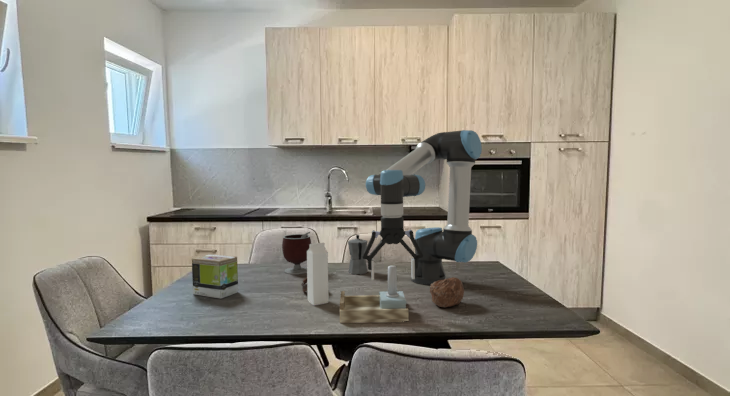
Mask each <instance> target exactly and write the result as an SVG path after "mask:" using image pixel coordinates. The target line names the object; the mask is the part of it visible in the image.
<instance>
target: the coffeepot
mask: <svg viewBox="0 0 730 396" xmlns="http://www.w3.org/2000/svg"><path fill="white" fill-rule="evenodd" d="M355 237H356V238H354V239H350V240H348V241H347V244H348V250H349V255H350V259H349V264H348V265H349V266H348V273H349V274H350V273H351V274H350V275H355V274H360V275H365V274H367V273H368V264H367V260H366V259H363V253H364V251H365V249H366V247H367V245H368V240H366V239H362V238H360V235H359V234H356V235H355Z"/></svg>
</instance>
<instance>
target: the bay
mask: <svg viewBox="0 0 730 396" xmlns="http://www.w3.org/2000/svg"><path fill="white" fill-rule="evenodd" d="M345 292H346V291H345V290H342V291H340V298H339V324H344V323H345V324H350V323H351V324H353V323H354V324H355V323H356V324H357V323H360V324H361V323H363V324H364V323H367V324H368V323H405V322H404V321H410V320H409V317H410V315H409V308H408V307H406V308H400V309H380V295H379V294H369V295H366V294H365V295H346V293H345ZM402 321H403V322H402Z"/></svg>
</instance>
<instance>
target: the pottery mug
mask: <svg viewBox="0 0 730 396" xmlns="http://www.w3.org/2000/svg"><path fill="white" fill-rule="evenodd" d="M301 287H302V290H301V291H302V292H303V293H305V292H308V291H307V277H305V278H304V279H303V280H302V283H301Z"/></svg>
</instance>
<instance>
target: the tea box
mask: <svg viewBox="0 0 730 396" xmlns="http://www.w3.org/2000/svg"><path fill="white" fill-rule="evenodd" d="M191 271H192V272H191V274H192V294H193V295H196V296H203V297H208V298H215V299H224V298H227V297H229V296H232V295H234V294H237V293H238V292H239V279H238V278H239V273H238V256H234V255H224V254H223V255H222V254H212V253H211V254H206V255H202V256H201V255H200V256H197V257H193V258H191Z"/></svg>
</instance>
